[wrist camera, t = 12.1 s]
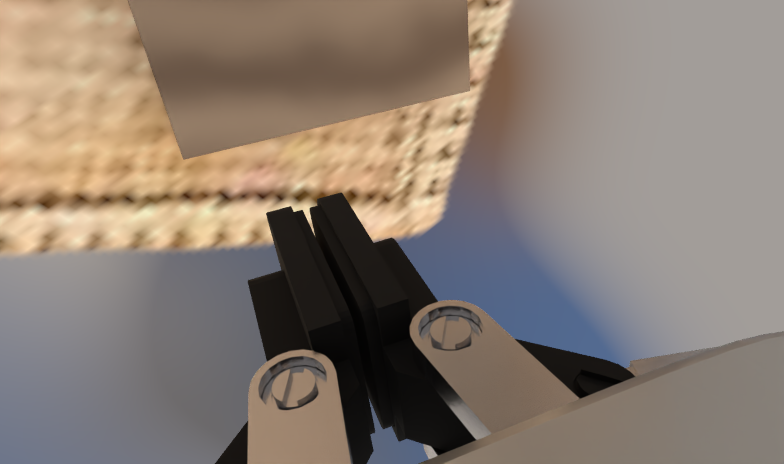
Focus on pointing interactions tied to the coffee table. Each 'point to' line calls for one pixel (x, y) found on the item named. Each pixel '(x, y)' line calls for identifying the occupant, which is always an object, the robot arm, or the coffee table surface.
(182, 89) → the brown board with blocks
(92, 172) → the coffee table surface
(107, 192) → the coffee table surface
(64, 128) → the coffee table surface
